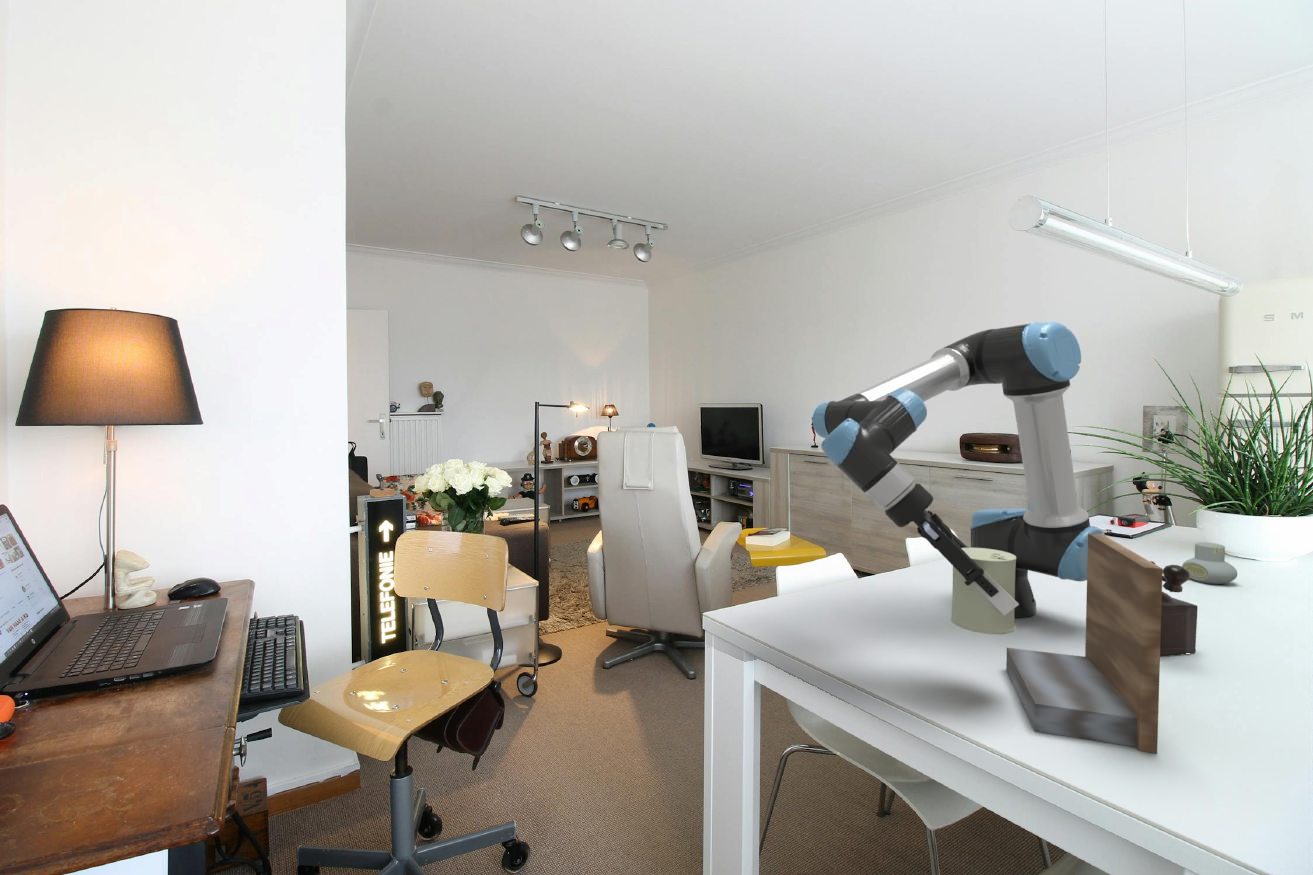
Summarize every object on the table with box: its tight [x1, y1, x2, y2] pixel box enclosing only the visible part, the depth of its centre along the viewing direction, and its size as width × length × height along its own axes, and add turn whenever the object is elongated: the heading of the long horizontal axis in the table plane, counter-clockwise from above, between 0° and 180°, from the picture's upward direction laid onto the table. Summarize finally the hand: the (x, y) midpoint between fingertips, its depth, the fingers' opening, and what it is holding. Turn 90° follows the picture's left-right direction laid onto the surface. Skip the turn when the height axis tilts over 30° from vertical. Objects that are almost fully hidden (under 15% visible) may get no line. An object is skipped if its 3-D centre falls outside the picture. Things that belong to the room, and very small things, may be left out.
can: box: [950, 547, 1016, 635], centre depth 98 cm, size 9×9×12 cm
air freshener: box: [1181, 541, 1238, 585], centre depth 162 cm, size 11×8×10 cm
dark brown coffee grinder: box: [1149, 560, 1199, 657], centre depth 116 cm, size 16×11×18 cm
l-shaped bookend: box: [1006, 533, 1164, 754], centre depth 95 cm, size 14×24×25 cm, turn 159°
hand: (1005, 600), depth 97 cm, fingers closed on can, 9 cm apart
